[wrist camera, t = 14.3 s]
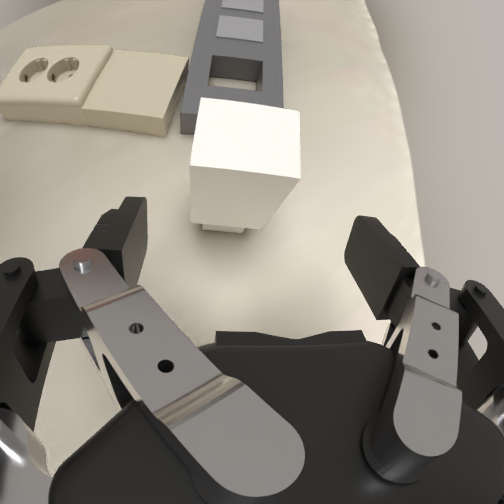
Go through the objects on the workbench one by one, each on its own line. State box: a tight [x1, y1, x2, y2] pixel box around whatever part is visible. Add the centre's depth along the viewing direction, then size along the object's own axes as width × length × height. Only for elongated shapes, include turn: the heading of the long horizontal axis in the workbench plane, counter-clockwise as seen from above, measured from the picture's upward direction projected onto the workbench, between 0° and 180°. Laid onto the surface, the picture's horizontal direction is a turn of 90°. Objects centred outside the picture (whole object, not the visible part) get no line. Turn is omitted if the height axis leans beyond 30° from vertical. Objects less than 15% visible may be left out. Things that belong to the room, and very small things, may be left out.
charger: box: [190, 97, 301, 233], centre depth 19 cm, size 5×4×12 cm
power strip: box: [180, 0, 284, 134], centre depth 27 cm, size 8×26×4 cm, turn 178°
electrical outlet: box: [0, 45, 189, 137], centre depth 23 cm, size 7×4×18 cm
